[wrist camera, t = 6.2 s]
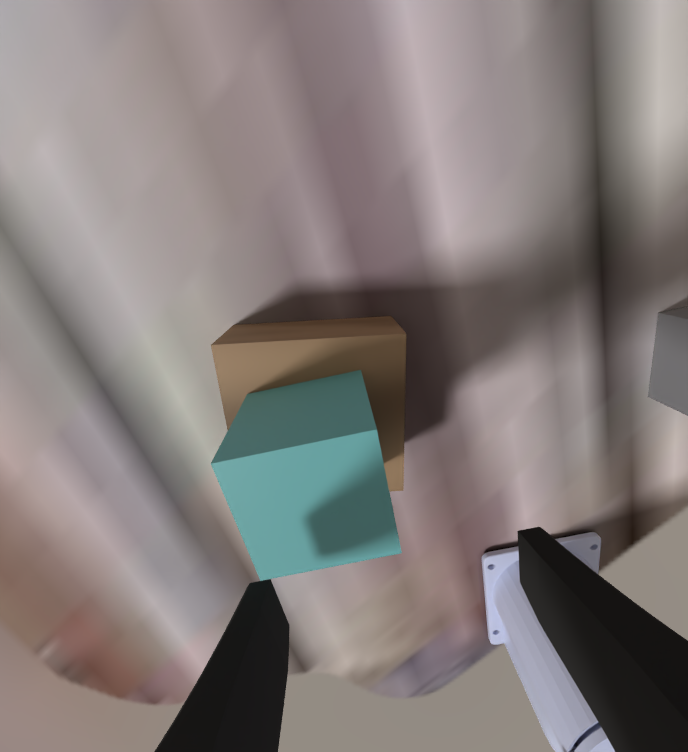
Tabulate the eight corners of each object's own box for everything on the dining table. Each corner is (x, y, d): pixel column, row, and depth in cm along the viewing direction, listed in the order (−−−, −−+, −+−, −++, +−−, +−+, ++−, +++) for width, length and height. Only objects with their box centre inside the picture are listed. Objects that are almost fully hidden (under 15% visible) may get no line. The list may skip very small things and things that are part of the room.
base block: (389, 446, 21) (403, 490, 17) (257, 454, 21) (241, 501, 17) (390, 314, 18) (406, 333, 14) (235, 323, 18) (210, 345, 14)
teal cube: (380, 465, 16) (401, 552, 12) (279, 485, 17) (260, 580, 12) (360, 369, 15) (376, 429, 10) (247, 394, 15) (210, 463, 10)
